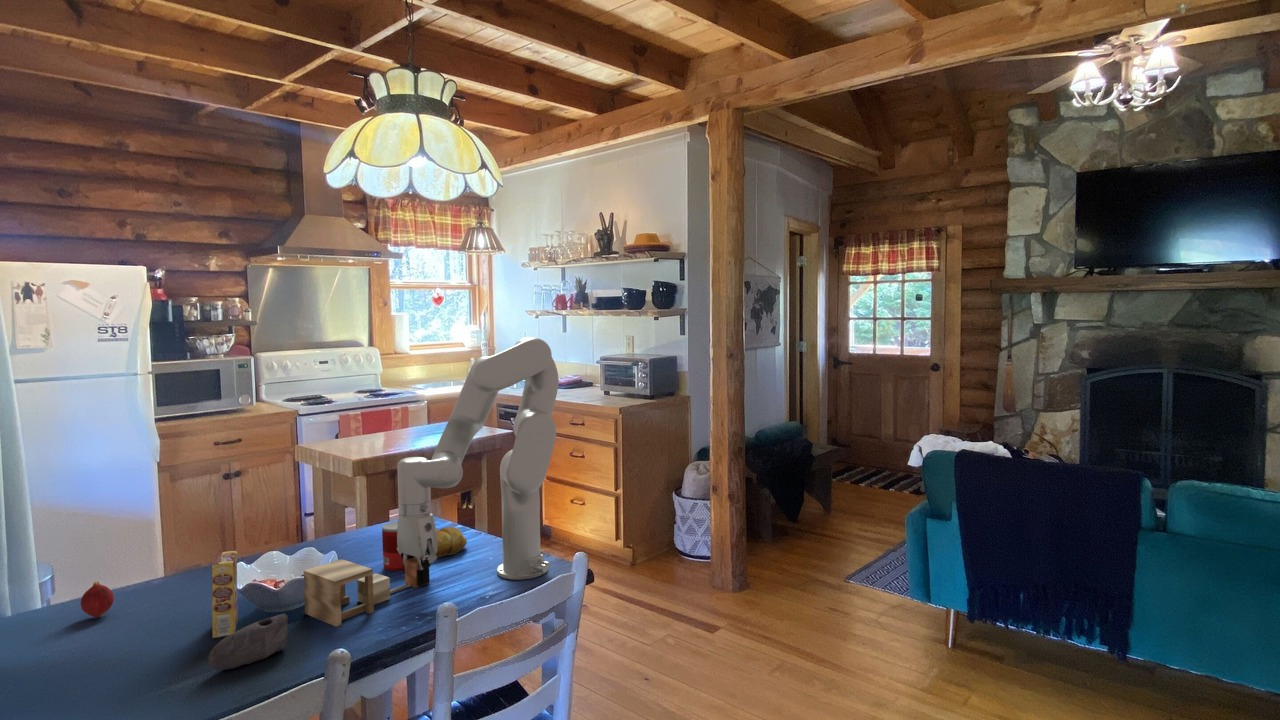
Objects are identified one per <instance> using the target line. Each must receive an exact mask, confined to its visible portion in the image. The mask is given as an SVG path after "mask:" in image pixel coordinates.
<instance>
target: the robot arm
mask: <svg viewBox="0 0 1280 720" xmlns="http://www.w3.org/2000/svg"><path fill="white" fill-rule="evenodd" d="M559 379H560V378H559V372H558V369H557V365H556V362H555V360H554V358H553V357H552V350H551V347H550V345H549V344H548V342H546V341H544V340H543V339H542V338H538V337H533V336H528V337H527V336H526V337H521V339H519V340H517V341H516V343H515V344H514V346H512V347H509V348H507V349H505V350H503V351H501V352H499V353H495V354H493V355H490V356H489V355H488V356H487V355H485V356H481V357H479V358H477V359H476V360H475V361H474V362H473V364H471V367H470V369H469V371H468V374H467V377H466V379H465V381H464V383H463V385H462V388H461V389H460V393H459V395H458V397H457V399H456V402H455V404H454V407H453V408H452V411H451V413H450V416H449V417H448V421H447V423H446V425H445V428H444V429H443V432H442V433H441V435H440V438H439V441H438V442H437V445H436V448H435V450H434V452H433V453H432V454H433V455H432V457H431V460H430V459H428V458H426V457H423V456H411V457H404V458H402V459H400V460H399V461H398V463H397V489H398V490H397V496H398V501H397V502H398V517H397V518H398V519H397V522H398V526H397V545H398V547H397V551H398V552H399V554H400V555H401V557H402V559H403V565H404V566H405V560H408V559H411V558H414V557H417V561H418V568H419V569H418V570H417V585H418V586H420V587H423V586H425V585H428V584H430V582H431V581H430V578H431V577H430V568H431V566H432V564H433V563H434V562H435V561H436V560H437V559H438V558H437V556H436V554H435V553H437V535H436V528H437V527H436V521H435V519H434V518H435V517H434V515H433V513H432V497H431V495H432V492H431V491H432V490H431V488H436V489H449V488H453V487H456V486H457V485H458V484H459V483H460V482H461V480H462V478H463V473H464V470H463V467H462V463H463V460H464V459H465V456H466V454H467V452H468V449H469V447H470V445H471V442H472V441H473V439H474V437H475V436H476V435H477V433H478V432H480V431H481V429H483V427H484V426H485V424H486V422H487V420H488V417H489V414H490V412H491V410H492V408H493V405H494V403H495V400H496V398H497V396H498V394H499V391H502V390H505V389H506V388H507V389H508V388H509V387H512V386H514V385H516V384H518V383H520V382H522V381H524V385H523V386H524V387H523V390H522V391H523V392H522V396H521V399H520V402H519V407H518V410H517V413H516V416H515V418H514V419H515V420H514V421H513V428H512V429H513V434H514V435H515V436H514V437H515V440H514V443H513V447H512V449H511V450H509V451H507V452H506V453H505V454H504V456H503V457H502V459H501V462H500V464H499V476H500V477H499V479H500V491H501V522H502V523H501V527H502V529H501V530H502V531H501V534H502V563H501V564H500V565H498V566H497V568H496V574H497V576H499V577H501V579H502V578H503V579H507V580H512V581H513V580H514V581H515V580H518V581H519V580H520V581H521V580H522V581H523V580H529V579H534V578H538V577H541V576H542V575H544V574H546V573H547V572H548V569H549V568H550V567H551V562H550V561H546V560H544V554H542V553H541V518H540V517H541V515H540V514H541V513H540V511H541V510H540V509H541V501H540V500H541V499H540V498H541V497H540V488H541V486H542V485H543V483H544V481H545V479H546V475H547V473H548V469H549V466H550V461H551V459H552V454H553V451H554V448H555V444H556V440H557V427H556V423H555V421H554V419H553V418H552V417H553V412H554V408H555V404H556V401H557V396H558V390H559ZM423 558H425V560H424V562H422V559H423ZM427 583H428V584H427ZM422 585H423V586H422Z"/></svg>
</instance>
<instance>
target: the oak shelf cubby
mask: <svg viewBox="0 0 1280 720" xmlns="http://www.w3.org/2000/svg"><path fill="white" fill-rule="evenodd" d="M373 574H374V572H373V568H370V567H367V566H364V565H361V564H358V563H355V562H352V561H349V560H346V559H342V558H341V559H337V560H334V561H330V562H327V563H324V564H321V565H317V566H314V567H311V568H307V569H304V570H303V581H304V580H305V581H306V582H305V588H304V587H303V589H304V590H303V591H304V594H303V595H304V614H305V615H308V616H310V617H312V618H315V619H317V620H319V621H322V622H325V623H326V624H329V625H331V626H333V627H339V626H342V621H344V620H346V619H349V618H351V617H354V616H357V615H359V614H362V613H364V612H365V613H366V614H367V615H370V614H373V613H374V612H375V605H374V600H373ZM364 577H365V603H361V604H360V605H357V606H354V607H350V608H348V609H346V610H343V611H342V607H343V606H345V605H348V604H350V603H351V602H350V596H349V595H346V584H348V583H351V582H354V581H357V580H358V579H361V578H364Z"/></svg>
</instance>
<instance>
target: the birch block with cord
mask: <svg viewBox="0 0 1280 720" xmlns="http://www.w3.org/2000/svg"><path fill="white" fill-rule="evenodd" d="M424 560H425V558H423V559H422V562H424ZM418 569H419V568H418V561H417V557H414V558H411V559H408V560H405V570H404V584H403V585H401V586H398V587H395V588H392V589H390V586H391V585H390V584H391V583H390V581H391V580H390V577H388V576H385V575H383V574H379V573H376V572H375V573H373V600H374V606H375V605H377V604H381V603H383V602H386V601H387V600H390V599H391V594H393V593H396V592H398V591H402V590H403V589H406V588H409V587H411V588H414V589H417V588H420V587H423V586H424V585H422V586H418V585H417V570H418ZM356 581H357V582H356V583H357V602H359V603H361V604H364V603H365V577H363V578H360V579H357V580H356ZM428 584H429V583H427V584H426V585H428Z"/></svg>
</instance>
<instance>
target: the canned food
mask: <svg viewBox="0 0 1280 720" xmlns="http://www.w3.org/2000/svg"><path fill="white" fill-rule="evenodd" d="M397 526H398V521H392V522H388V523H385V524H383V525H382V528H381V535H382V536H381V537H382V566H383V568H384V570H386V571H389V572H401V571H405V566H404V565H403V559H402V557H401V555H400V554H399V552H398V551H397V547H398V545H397Z"/></svg>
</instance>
